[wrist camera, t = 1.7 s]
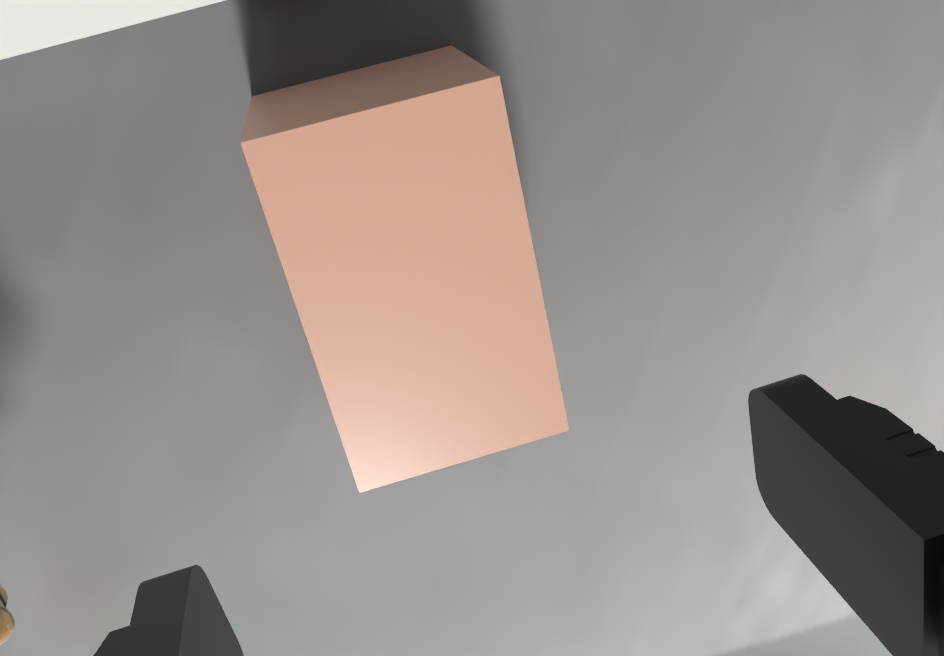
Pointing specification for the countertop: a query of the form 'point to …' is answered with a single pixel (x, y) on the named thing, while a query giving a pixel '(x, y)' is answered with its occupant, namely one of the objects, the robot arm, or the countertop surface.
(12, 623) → the lion figurine
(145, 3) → the baseplate
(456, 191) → the terracotta brick
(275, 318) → the countertop surface
